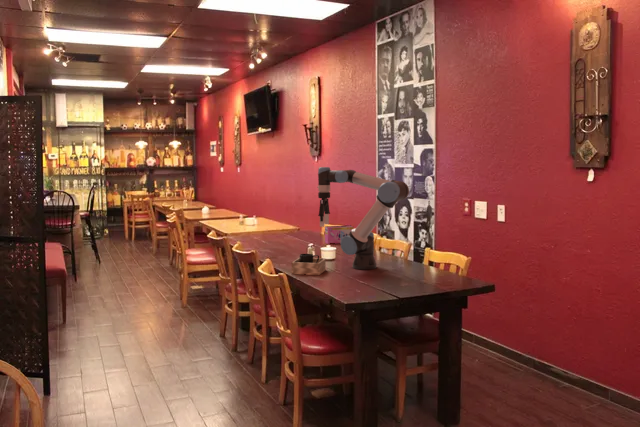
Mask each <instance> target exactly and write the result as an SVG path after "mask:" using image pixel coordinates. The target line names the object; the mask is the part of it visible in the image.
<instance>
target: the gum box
mask: <svg viewBox="0 0 640 427" xmlns="http://www.w3.org/2000/svg"><path fill="white" fill-rule="evenodd" d="M352 229H355V227H354V225H353V226H352V225H351V224H350V225H349V224H347V225H329V226H328V225H324V243H325V244H327V245H330V243H335V244H341V240H342V238H343V237H345V236H348V234H349V233H350V232H351V230H352Z"/></svg>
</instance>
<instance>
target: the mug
mask: <svg viewBox="0 0 640 427" xmlns="http://www.w3.org/2000/svg"><path fill="white" fill-rule="evenodd" d="M314 257H317V258H318V259H317V261H316V263H317V262H318V260H319V258H320V255H319V254H313V253H300V254H299V258H300V262H301V263H313V258H314Z"/></svg>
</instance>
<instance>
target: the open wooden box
mask: <svg viewBox="0 0 640 427" xmlns="http://www.w3.org/2000/svg"><path fill="white" fill-rule="evenodd" d="M317 259H318V257H317V258H316V257H315V258H314V257H313V263H301V262H300V257H298V258H296V259H295V260H293V261H292V262H291V275H304V274H306V276H307V275H309V276H320V275H321V274H322V273H324V272H325V271H326V268H327V267H326V258H320V257H319V260H318V262H317V263H316V261H317Z"/></svg>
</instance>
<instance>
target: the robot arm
mask: <svg viewBox="0 0 640 427" xmlns="http://www.w3.org/2000/svg"><path fill="white" fill-rule="evenodd" d="M317 178H318V183H317V191H318V193H317V194H318V195H317V196H318V199H319V209H318V210H319V212H318V217H319V227H320V228H321V227H322V228H323V227H324V228H325V225H329V224H330V216H329V215H330V214H331V212H330V204H329V199H330V198H331V183H338V184H339V183H340V184H344V183H351V184H355V185H357V186H358V185H359V186H362V187H365V188H367V189H373V190H375V191H377V195H376V200H375V202H374V203H373V205H372V206H371V208H370V209H369V210H368V211H367V213H366V214H365V216H364V217H363V218H362V220H361V221H360V223H358V225H357V226H356V227H355V228H354V229H352V230H351V232H350V233H349V234H348V236H345V237H343V238H342V240H341V243H340V248H341V250H342V252H343V253H344V254H346V255H349V256H350V255H355V256H354V258H353V261H352V268H353V269H355V270H375V269H376V268H377V261H376V258H375V237H374V236H375V235H374V232H372V231H373V230H374V229H375V227H376V226H377V225H378V224H379V222H380V221H381V219H382V218H383V217H384V215H385V214H386V213H387V212H388V210H389V209H393V208H394V206H395V205H396V204H397V203H398V202H402V201H404V200H406V199H407V198H408V196H409V193H410V189H409V186H408V184H407V183H406V182H405V181H402V180H395V179H391V180H389V179H384V178H381V177H377V176H373V175H369V174H365V173H362V172H358V171H356V170H354V169H343V170H342V169H340V170H335V169H334V170H331V167H329V166H321V167H319V168H318V173H317Z"/></svg>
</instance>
